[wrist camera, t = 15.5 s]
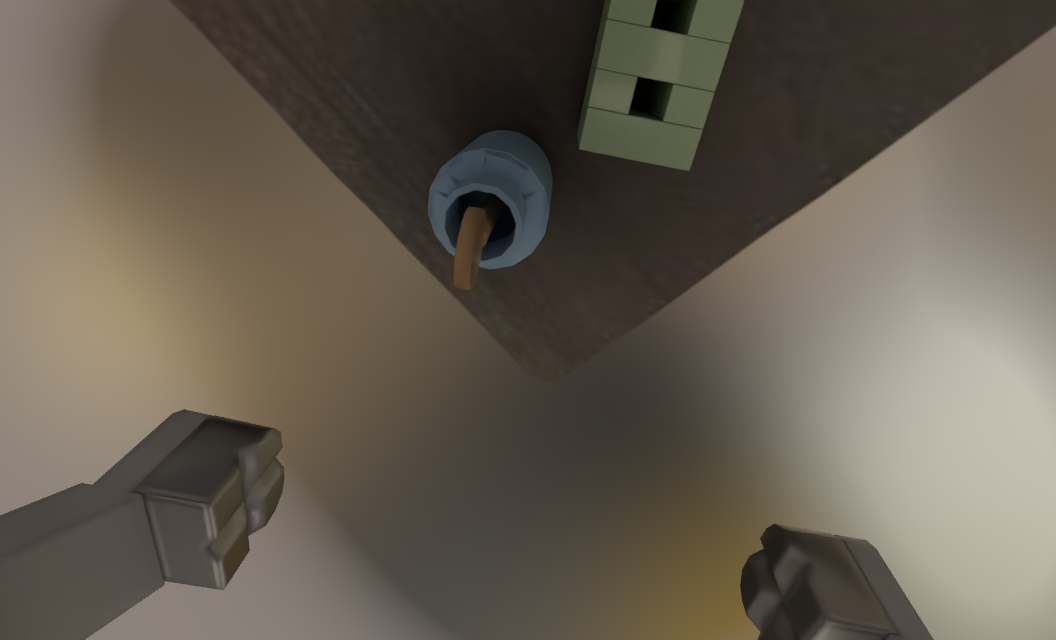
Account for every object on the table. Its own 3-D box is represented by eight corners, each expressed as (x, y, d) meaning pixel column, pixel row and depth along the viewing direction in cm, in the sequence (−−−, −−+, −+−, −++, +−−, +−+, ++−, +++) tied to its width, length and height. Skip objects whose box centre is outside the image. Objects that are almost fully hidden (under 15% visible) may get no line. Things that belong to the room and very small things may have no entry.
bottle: (463, 121, 36) (419, 145, 25) (561, 140, 36) (558, 172, 26) (452, 217, 39) (410, 274, 29) (542, 234, 40) (533, 298, 29)
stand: (636, -148, 29) (654, -206, 22) (751, -124, 29) (801, -175, 23) (576, 134, 36) (578, 149, 30) (668, 152, 36) (689, 171, 30)
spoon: (500, 154, 36) (454, 218, 22) (516, 158, 36) (481, 223, 22) (492, 208, 38) (445, 300, 24) (507, 211, 38) (470, 304, 24)
